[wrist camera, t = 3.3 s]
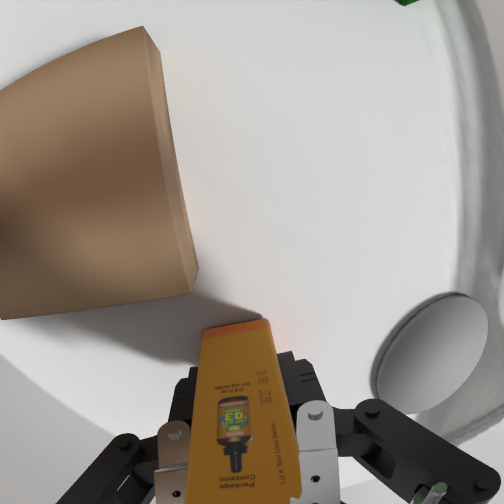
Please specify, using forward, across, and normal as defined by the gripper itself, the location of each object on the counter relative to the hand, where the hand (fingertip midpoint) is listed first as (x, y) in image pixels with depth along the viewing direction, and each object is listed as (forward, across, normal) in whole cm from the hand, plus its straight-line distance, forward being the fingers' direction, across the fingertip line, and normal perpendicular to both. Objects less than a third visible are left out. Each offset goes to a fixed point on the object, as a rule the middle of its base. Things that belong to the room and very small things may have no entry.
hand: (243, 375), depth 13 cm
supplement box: (+2, 0, 0) cm, 2 cm away
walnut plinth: (+2, +6, -10) cm, 12 cm away
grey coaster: (+2, -12, +4) cm, 13 cm away
